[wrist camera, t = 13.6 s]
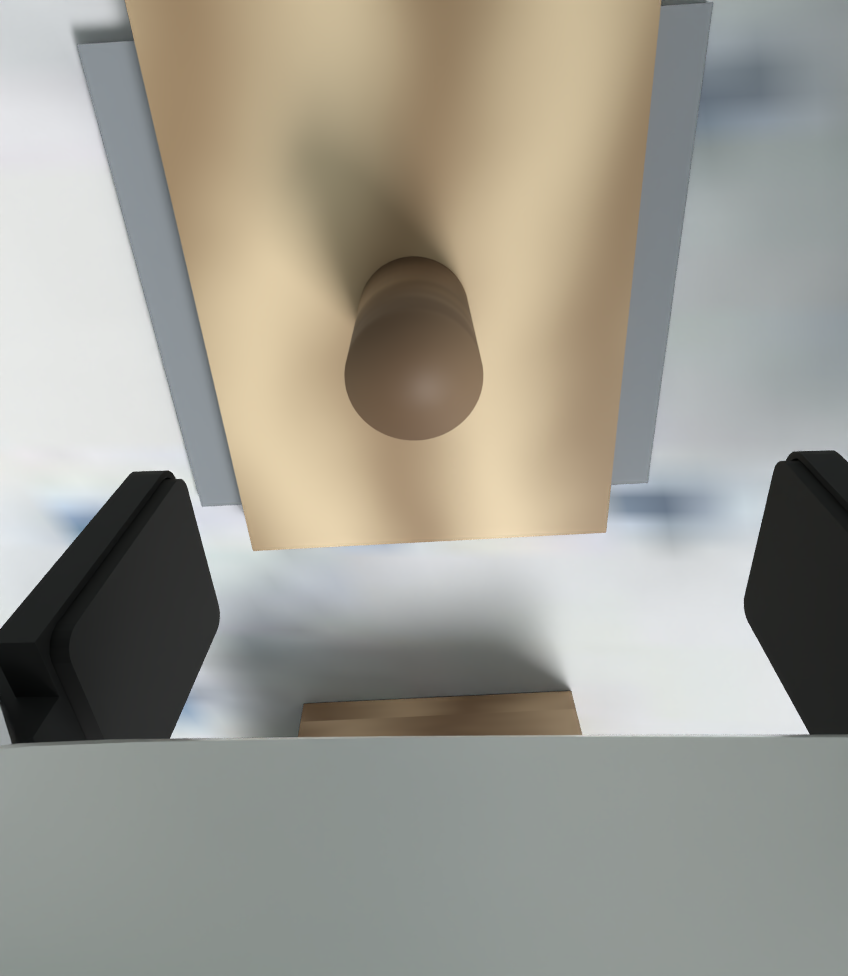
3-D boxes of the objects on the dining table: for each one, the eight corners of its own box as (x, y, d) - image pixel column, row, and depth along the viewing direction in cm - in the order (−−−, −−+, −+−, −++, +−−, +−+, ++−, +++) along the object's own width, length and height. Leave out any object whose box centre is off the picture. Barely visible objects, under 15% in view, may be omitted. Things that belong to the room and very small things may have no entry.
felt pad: (707, 3, 17) (713, 2, 17) (644, 476, 25) (647, 482, 24) (83, 44, 18) (76, 44, 17) (204, 500, 25) (201, 506, 25)
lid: (654, -57, 16) (764, -114, 11) (599, 516, 25) (647, 632, 20) (133, -22, 17) (8, -61, 11) (258, 534, 25) (218, 653, 20)
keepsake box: (571, 690, 30) (609, 842, 25) (554, 885, 39) (580, 1033, 33) (303, 703, 31) (276, 857, 25) (344, 894, 39) (332, 1043, 33)
